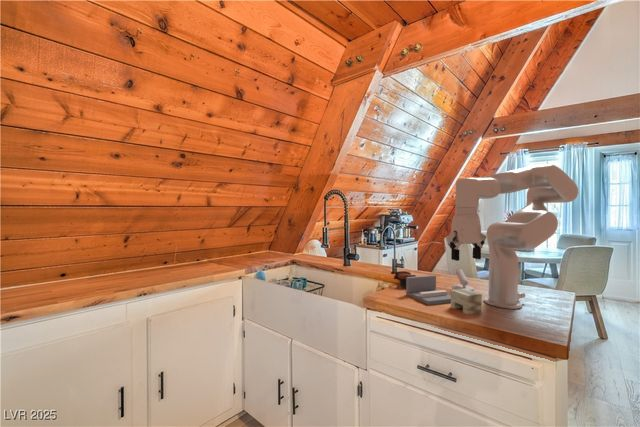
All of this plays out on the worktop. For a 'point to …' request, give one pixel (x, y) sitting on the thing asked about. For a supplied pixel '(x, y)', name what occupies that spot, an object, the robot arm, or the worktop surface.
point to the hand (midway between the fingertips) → (466, 259)
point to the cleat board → (426, 290)
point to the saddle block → (466, 300)
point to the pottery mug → (402, 278)
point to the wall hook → (462, 281)
